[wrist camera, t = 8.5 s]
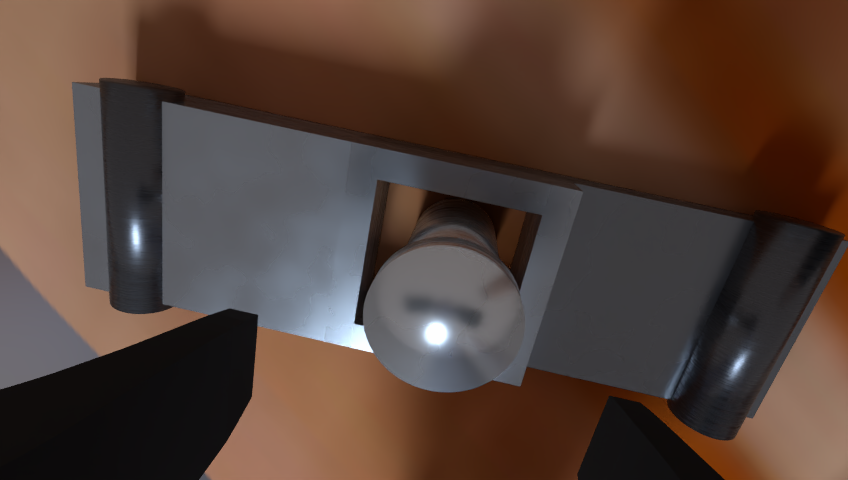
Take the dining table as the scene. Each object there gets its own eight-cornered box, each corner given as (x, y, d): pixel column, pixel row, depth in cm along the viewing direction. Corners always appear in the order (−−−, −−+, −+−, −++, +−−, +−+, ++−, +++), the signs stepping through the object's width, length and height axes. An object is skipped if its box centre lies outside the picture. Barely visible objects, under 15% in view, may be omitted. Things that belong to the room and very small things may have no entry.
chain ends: (729, 400, 18) (783, 465, 15) (138, 266, 19) (72, 300, 16) (822, 221, 16) (912, 254, 13) (134, 75, 17) (54, 71, 14)
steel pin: (488, 295, 18) (496, 410, 11) (394, 269, 18) (349, 367, 12) (519, 203, 17) (548, 273, 10) (418, 176, 17) (381, 227, 10)
